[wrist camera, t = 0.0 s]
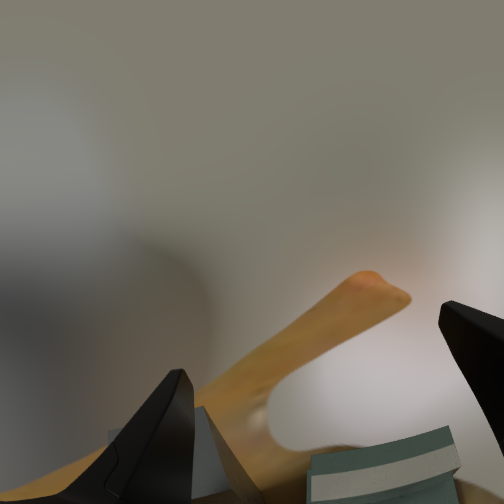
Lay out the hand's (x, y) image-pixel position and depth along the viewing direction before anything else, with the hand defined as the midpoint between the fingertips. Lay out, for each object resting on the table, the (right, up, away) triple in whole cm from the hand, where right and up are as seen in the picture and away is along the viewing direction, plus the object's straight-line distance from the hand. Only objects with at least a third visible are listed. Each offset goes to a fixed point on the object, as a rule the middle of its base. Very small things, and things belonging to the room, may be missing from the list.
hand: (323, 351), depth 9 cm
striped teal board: (+7, -16, +1) cm, 18 cm away
